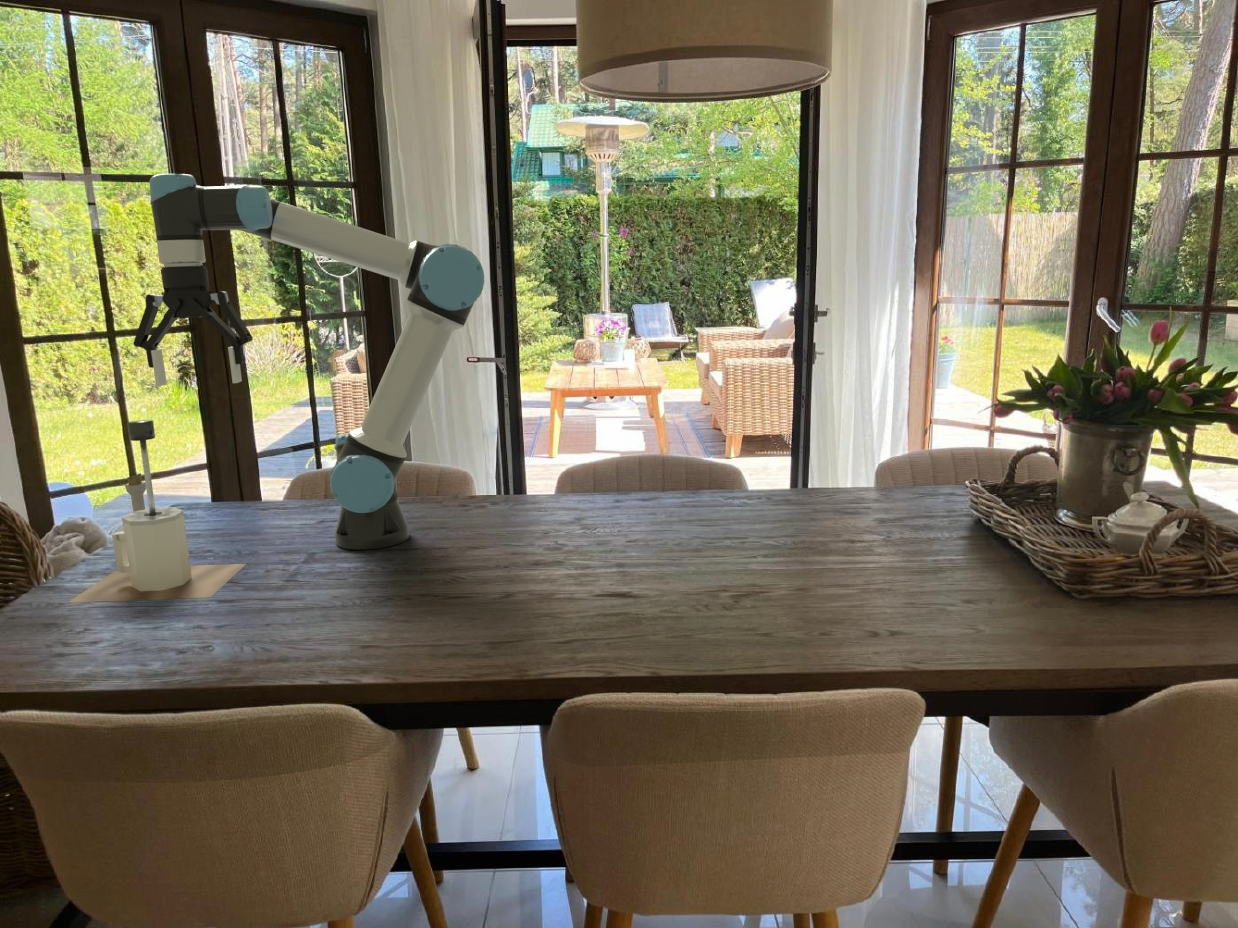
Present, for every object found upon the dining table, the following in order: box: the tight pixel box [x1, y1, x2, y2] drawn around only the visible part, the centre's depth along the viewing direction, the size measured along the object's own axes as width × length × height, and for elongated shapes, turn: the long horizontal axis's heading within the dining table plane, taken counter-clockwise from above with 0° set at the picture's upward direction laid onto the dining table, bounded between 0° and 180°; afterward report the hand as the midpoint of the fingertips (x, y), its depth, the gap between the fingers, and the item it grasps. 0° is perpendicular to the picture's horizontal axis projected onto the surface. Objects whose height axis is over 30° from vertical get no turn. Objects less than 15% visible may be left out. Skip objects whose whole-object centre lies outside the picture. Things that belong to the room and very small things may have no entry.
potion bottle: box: [124, 473, 146, 512], centre depth 180 cm, size 9×9×18 cm
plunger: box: [127, 419, 156, 516], centre depth 160 cm, size 4×4×20 cm
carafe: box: [111, 506, 192, 591], centre depth 163 cm, size 12×9×13 cm
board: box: [67, 563, 247, 604], centre depth 165 cm, size 24×18×2 cm
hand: (199, 384), depth 166 cm, fingers open, 13 cm apart
